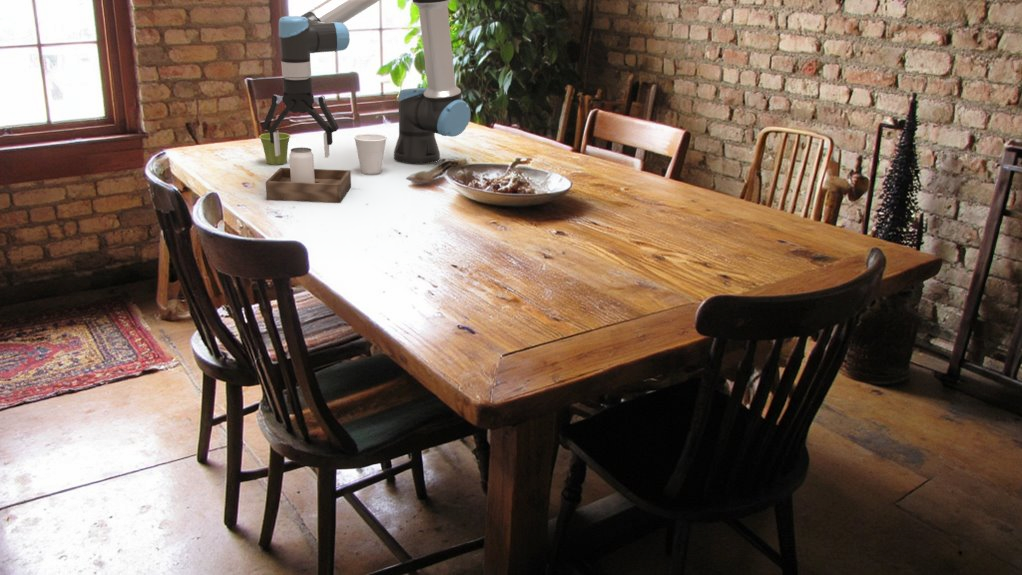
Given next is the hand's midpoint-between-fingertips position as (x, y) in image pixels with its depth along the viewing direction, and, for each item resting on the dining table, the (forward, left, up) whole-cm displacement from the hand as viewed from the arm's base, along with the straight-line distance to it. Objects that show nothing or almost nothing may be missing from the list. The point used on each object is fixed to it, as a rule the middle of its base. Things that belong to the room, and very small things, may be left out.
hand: (302, 155), depth 233 cm
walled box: (-2, 0, -11) cm, 11 cm away
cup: (-15, -26, -11) cm, 31 cm away
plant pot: (+16, -33, -11) cm, 38 cm away
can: (0, 0, -10) cm, 10 cm away
